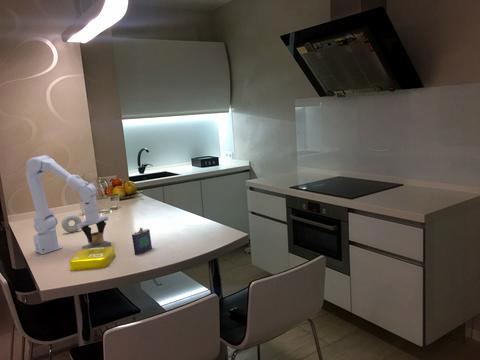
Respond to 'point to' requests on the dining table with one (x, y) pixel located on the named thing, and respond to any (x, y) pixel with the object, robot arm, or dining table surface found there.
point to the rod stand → (97, 245)
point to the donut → (69, 218)
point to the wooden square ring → (96, 238)
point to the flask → (141, 241)
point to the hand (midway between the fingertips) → (95, 239)
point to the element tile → (92, 258)
